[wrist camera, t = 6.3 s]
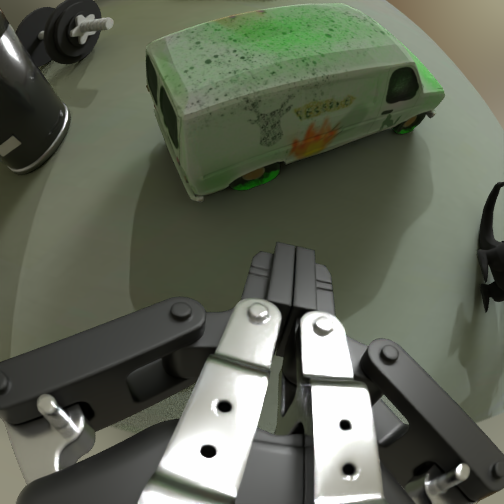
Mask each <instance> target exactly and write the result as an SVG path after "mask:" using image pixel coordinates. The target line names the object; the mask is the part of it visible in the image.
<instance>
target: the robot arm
mask: <svg viewBox="0 0 504 504" xmlns="http://www.w3.org/2000/svg"><path fill="white" fill-rule="evenodd" d="M70 118H71V116H70V111H69V109H68V108H67V106H66V105H65V104H64V103H63V102H62V101H61V100H60V98H59V97H58V96H57V94H56V93H55V91H54V90H53V88H52V87H51V85H50V84H49V83H48V81H47V80H46V78H45V77H44V75H43V74H42V73H41V71H40V70H39V68H38V67H37V65H36V64H35V62H34V61H33V59H32V58H31V56H30V55H29V53H28V52H27V50H26V49H25V47H24V46H23V44H22V43H21V41H20V39H19V38H18V36H17V35H16V33H15V32H14V30H13V28H12V27H11V25H10V24H9V22H8V21H7V19H6V17H5V15H4V14H3V12H2V11H1V9H0V160H1V161H2V162H3V163H5V164H6V165H7V166H8V168H9V169H11V170H12V171H13V172H14V173H16V174H26V173H29V172H31V171H33V170H35V169H36V168H38V167H39V166H41V165H42V164H43V163H44V162H45V161H46V160H47V159H48V158H49V157H50V156H51V155H52V154H53V153H54V152H55V150H56V149H57V148H58V146H59V145H60V143H61V142H62V140H63V139H64V137H65V135H66V133H67V130H68V128H69V124H70ZM276 348H277V352H276V356H281V357H284V358H283V365H282V368H281V370H280V373H279V383H278V413H277V425H276V429H275V432H274V434H272V433H269V432H267V431H264V430H262V429H259V428H257V424H258V420H259V416H260V412H261V409H262V405H263V401H264V397H265V393H266V389H267V385H268V381H269V377H270V371H269V370H270V366H271V362H272V358H273V355H274V354H275V351H276ZM194 383H196V384H195V387H194V389H193V391H192V393H191V395H190V398H189V400H188V402H187V404H186V406H185V409H184V411H183V413H182V415H181V417H180V419H174V420H168V421H164V422H161V423H158V424H155V425H153V426H150V427H149V428H147V429H145V430H143V431H141V432H139V433H137V434H135V435H134V436H132V437H130V438H128V439H126V440H124V441H122V442H120V443H118V444H116V445H114V446H112V447H110V448H108V449H106V450H104V451H102V452H100V453H98V454H96V455H93V456H91V457H89V458H87V459H85V460H82V461H80V462H78V463H76V462H77V461H78V459H79V458H80V457H82V456H83V455H85V454H86V453H88V452H89V451H90V450H91V449H92V447H93V445H94V443H95V432H96V431H98V430H101V429H103V428H105V427H108V426H110V425H112V424H114V423H117V422H119V421H121V420H123V419H125V418H127V417H129V416H132V415H134V414H136V413H138V412H140V411H142V410H144V409H146V408H148V407H150V406H152V405H154V404H156V403H158V402H160V401H162V400H164V399H166V398H168V397H170V396H172V395H174V394H176V393H177V392H179V391H181V390H183V389H185V388H187V387H189V386H190V385H192V384H194ZM383 395H385V396H386V397H387V398H388V399H389V400H390V401H391V403H392V404H393V405H394V406H395V407H396V408H397V409H398V410H399V411H400V412H401V413H402V415H403V416H404V417H405V418H406V419H407V421H408V423H409V425H407V424H404V423H403V422H402V421H401V420H400V419H399V418H398V417H397V416H396V415H395V414H394V413H393V412H392V410H391V409H390V408H389V407H388V406H387V405H386V404H385V403H384V402H383V400H382V399H381V397H382V396H383ZM0 418H1V419H2V420H3V422H4V423H5V426H6V429H7V433H8V435H9V439H10V442H11V445H12V448H13V451H14V454H15V457H16V459H17V462H18V464H19V467H20V469H21V472H22V474H23V477H24V479H25V481H26V484H27V486H25V488H24V489H23V490H22V491H21V493H20V494H19V496H18V499H17V502H16V504H477V503H478V502H479V501H480V500H482V499H484V498H486V497H488V496H490V495H492V494H494V493H496V492H498V491H500V490H501V489H503V488H504V454H503V453H502V452H501V451H500V450H499V449H498V447H497V446H496V445H495V444H494V443H493V442H492V441H491V440H490V439H489V438H488V436H487V435H486V434H485V433H484V432H483V431H482V430H481V429H480V428H479V427H478V426H477V424H476V423H475V422H474V421H473V420H472V419H471V418H470V417H469V416H468V415H467V414H466V413H465V412H464V411H463V410H462V408H461V407H460V406H459V405H458V404H457V403H456V402H455V401H454V400H453V399H452V398H451V397H450V396H449V395H448V394H447V393H446V392H445V391H444V390H443V389H442V388H441V387H440V386H439V385H438V384H437V383H436V382H435V380H434V379H433V378H432V377H431V376H430V375H429V374H428V373H427V372H426V371H425V370H424V369H423V368H422V367H421V366H420V365H419V364H418V363H417V362H416V361H415V360H414V359H413V358H412V357H411V356H410V355H409V354H408V353H407V352H406V351H405V350H404V349H403V348H402V347H400V346H399V345H398V344H397V343H395V342H393V341H391V340H389V339H383V338H379V339H375V340H373V341H372V342H371V343H370V344H369V346H367V345H365V344H363V343H360V342H358V341H356V340H354V339H352V338H350V337H348V336H347V335H346V334H345V329H344V326H343V325H342V323H341V322H340V321H339V320H338V319H337V318H336V315H335V305H334V296H333V287H332V279H331V273H330V272H329V271H328V269H327V268H326V266H325V265H321V264H317V263H315V250H312V249H307V248H303V247H298V246H296V248H295V246H294V245H289V244H285V243H280V242H276V246H275V250H274V254H271V253H267V252H262V251H260V252H259V253H258V254H256V255H255V256H254V257H253V260H252V263H251V267H250V270H249V274H248V277H247V280H246V284H245V287H244V291H243V294H242V297H241V300H240V302H238V303H237V304H236V306H235V307H234V308H233V309H230V310H228V311H224V312H206V311H205V309H204V307H203V306H202V305H201V304H200V303H199V302H198V301H196V300H194V299H191V298H188V297H173V298H169V299H167V300H164V301H161V302H159V303H156V304H154V305H151V306H149V307H146V308H143V309H141V310H138V311H136V312H133V313H130V314H128V315H125V316H123V317H120V318H117V319H115V320H112V321H110V322H107V323H104V324H102V325H99V326H96V327H94V328H91V329H88V330H86V331H83V332H80V333H78V334H75V335H72V336H70V337H67V338H64V339H62V340H59V341H56V342H54V343H51V344H48V345H46V346H43V347H40V348H37V349H35V350H32V351H29V352H27V353H24V354H21V355H18V356H16V357H13V358H10V359H7V360H5V361H2V362H0ZM398 482H399V483H398ZM403 488H404V489H403Z"/></svg>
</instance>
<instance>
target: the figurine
mask: <svg viewBox="0 0 504 504" xmlns="http://www.w3.org/2000/svg"><path fill="white" fill-rule="evenodd" d="M503 186H504V182H498V183H497V184H496V185H495V186H494V188H493V189H492V191H491V193H490V194H489V196H488V199H487V201H486V203H485V206H484V209H483V214H482V219H481V224H480V247H481V250H480V249H479V250H478V251H477V255H478V259H479V263H480V266H481V270H482V274H483V277H484V281H485V283H486V282H487V278H488V265H489V266H490V269H491V272H492V275H493V278H494V280H495V281H494V282H493V283H491V284H489V285H486V284H483V283H482V284H481V285H480V288H481V294H482V299H483V304H484V308H485V312H487V311H488V306H489V297H492V298H493V299H494V301H496V302H501V301H504V241H501V242H498V241H496V240H495V239H494V235H493V227H492V225H493V210H494V206H495V202H496V199H497V196H498V194H499V191H500V188H501V187H503Z"/></svg>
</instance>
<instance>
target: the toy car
mask: <svg viewBox="0 0 504 504" xmlns="http://www.w3.org/2000/svg"><path fill="white" fill-rule="evenodd" d="M146 78H147V86H146V87H147V89H148V91H149V92H150V94H151V97H152V99H153V102H154V107H155V109H154V113H155V116H156V119H157V122H158V124H159V127H160V130H161V132H162V135H163V137H164V140H165V142H166V145H167V147H168V150H169V152H170V155H171V157H172V159H173V161H174V164H175V166H176V168H177V171H178V173H179V175H180V177H181V180H182V182H183V184H184V186H185V189H186V191H187V193H188V195H189V196H190V198H191V200H195V201H198V202H202V201H203V200H204V198H203V196H205V195H208V194H212V193H215V192H217V191H220V190H223V189H225V188H226V187H228V186H229V185H230V187H231V188H232V189H236V190H248V189H250V188H253V187H255V186H258V185H261V184H264V183H267V182H268V181H270V180H272V179H274V178H276V176H277V175H278V174H279V171H280V163H279V162H280V161H283V162H284V164H285V165H286V164H289V163H292V162H295V161H298V160H301V159H304V158H307V157H310V156H314V155H317V154H320V153H323V152H326V151H329V150H331V149H334V148H336V147H339V146H342V145H344V144H347V143H350V142H352V141H355V140H358V139H360V138H363V137H366V136H369V135H372V134H375V133H377V132H380V131H383V130H386V129H389V128H393V130H394V131H395V132H396V133H397V134H404V133H408V132H411V131H413V129H414V128H415V127H416V126H417V125H419V124H420V123H421V121H422V120H423V119H424V117H425V116H426V115H427V116H428V117H429V118H432V117H433V116H434V115H435V114H436V111H435V110H434V109H435V108H436V107H437V106H438V105H439V104H440V102H441V101H442V100H443V99H444V97H445V94H444V90H443V88H442V87H441V85H440V84H439V83H438V81H437V80H436V79H435V78H434V76H433V75H432V74H431V73H430V72H429V71H428V69H427V68H426V67H425V66H424V65H423V64H422V63H421V62H420V61H419V60H418V59H417V58H416V56H415V55H414V54H413V53H411V52H410V51H409V50H408V49H407V48H406V47H405V46H404V45H403V44H402V43H401V42H400V41H398V40H397V39H396V38H395V37H394V36H393V35H392V34H391V33H389V32H388V31H387V30H386V29H385V28H384V27H382V26H381V25H380V24H378V23H377V22H376V21H375V20H373V19H372V18H370V17H369V16H367V15H365V14H364V13H362V12H361V11H359V10H357V9H355V8H353V7H350V6H348V5H346V4H342V3H326V4H299V5H290V6H283V7H276V8H269V9H262V10H256V11H251V12H246V13H241V14H236V15H231V16H227V17H224V18H220V19H216V20H213V21H209V22H206V23H202V24H199V25H196V26H193V27H190V28H187V29H184V30H181V31H178V32H176V33H173V34H170V35H168V36H165V37H162V38H160V39H157V40H155V41H153V42H151V43H149V44H148V45H147V47H146ZM191 188H192V189H191ZM192 190H193V191H194V193H195V194H197V195H200V196H199V197H195V195H194V193H193V191H192Z"/></svg>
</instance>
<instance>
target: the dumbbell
mask: <svg viewBox="0 0 504 504" xmlns="http://www.w3.org/2000/svg"><path fill="white" fill-rule="evenodd" d="M112 26H113V19H111V18H101V12H100V9H99V7H98V5H97V4H96V3H95V2H94V1H93V0H66V1H64V2H63V3H61V4H60V5H58V6H57V7H56V8H51V7H43V8H39V9H36V10H34V11H33V12H31V13H30V14H29V15H27V16H26V17H25V18H24V19H23V20H22V22H21V23H20V25H19V26H18V28H17V30H16V32H15V33H16V35H17V36H18V38H19V39H20V41H21V43H22V44H23V46H24V47H25V49H26V50H27V52H28V53H29V55H30V56H31V58H32V59H33V61H34V62H35V64H36V65H37V67H40V66H42V65H44V64H46V63H48V62H49V61H51V60H54V61H55V62H58V63H60V64H72V63H75V62H77V61H80V60H81V59H83V58H84V57H85V56H87V55H88V54H89V53H90V51H91V50H92V49H93V47H94V46H95V44H96V42H97V40H98V38H99V35H100V31H101V30H108V29H110V28H111V27H112Z"/></svg>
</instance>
